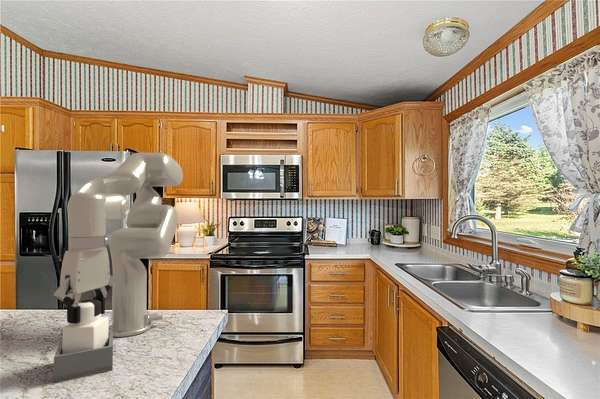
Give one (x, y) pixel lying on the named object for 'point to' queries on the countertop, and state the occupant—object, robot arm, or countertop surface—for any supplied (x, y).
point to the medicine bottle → (86, 329)
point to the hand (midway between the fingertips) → (86, 317)
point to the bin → (83, 361)
